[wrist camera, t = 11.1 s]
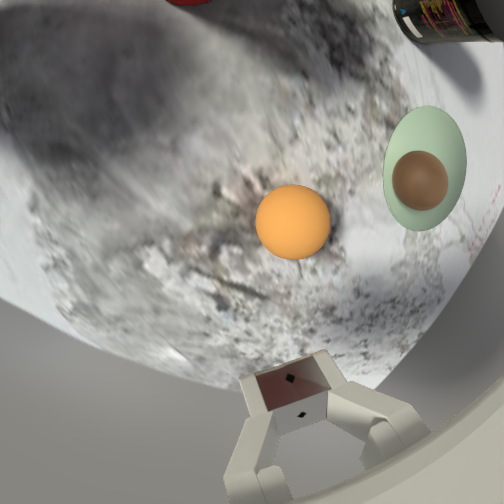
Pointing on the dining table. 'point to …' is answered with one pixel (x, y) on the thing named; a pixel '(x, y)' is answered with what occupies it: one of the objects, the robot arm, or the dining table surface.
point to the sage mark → (432, 141)
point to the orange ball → (293, 222)
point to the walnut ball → (420, 180)
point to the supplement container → (451, 20)
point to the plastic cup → (188, 2)
